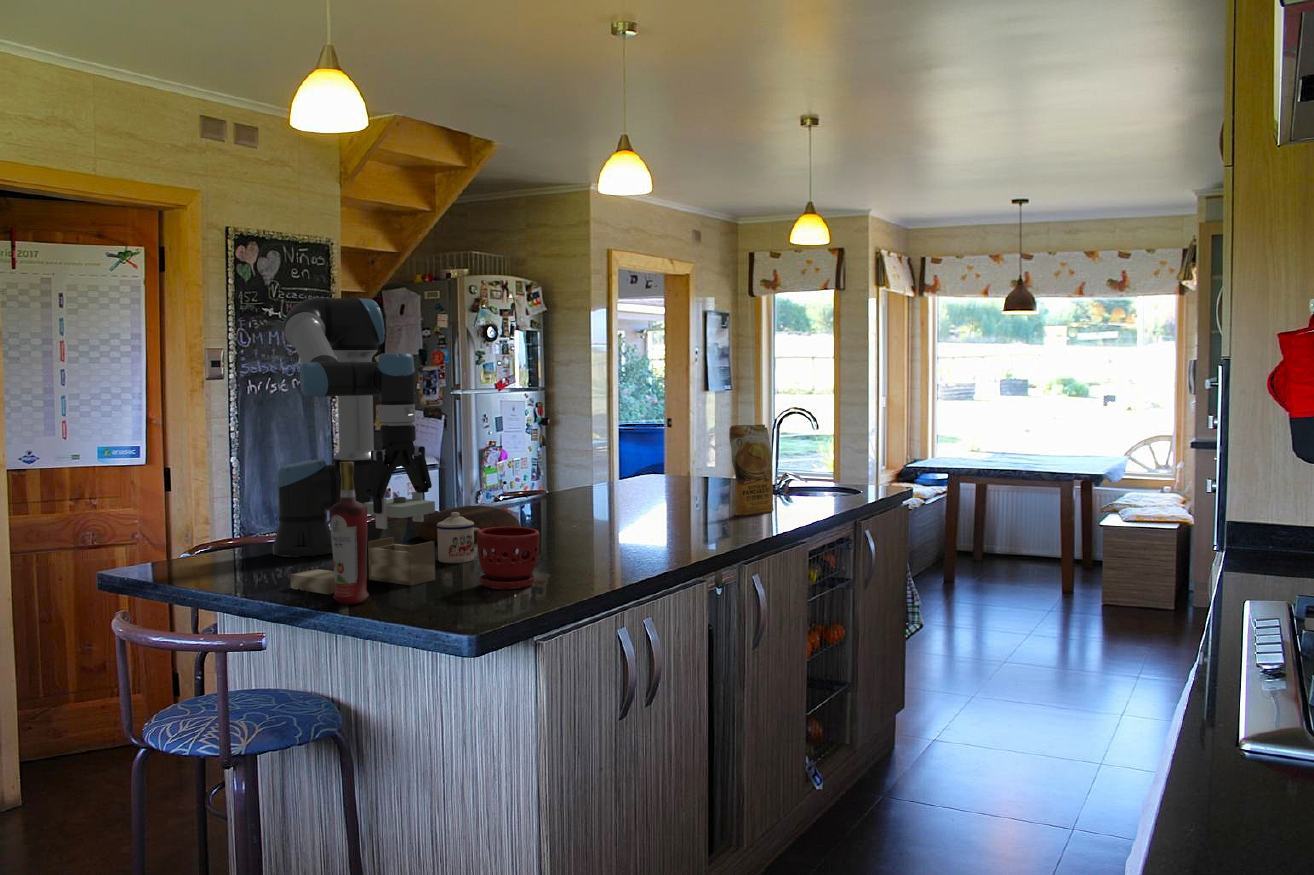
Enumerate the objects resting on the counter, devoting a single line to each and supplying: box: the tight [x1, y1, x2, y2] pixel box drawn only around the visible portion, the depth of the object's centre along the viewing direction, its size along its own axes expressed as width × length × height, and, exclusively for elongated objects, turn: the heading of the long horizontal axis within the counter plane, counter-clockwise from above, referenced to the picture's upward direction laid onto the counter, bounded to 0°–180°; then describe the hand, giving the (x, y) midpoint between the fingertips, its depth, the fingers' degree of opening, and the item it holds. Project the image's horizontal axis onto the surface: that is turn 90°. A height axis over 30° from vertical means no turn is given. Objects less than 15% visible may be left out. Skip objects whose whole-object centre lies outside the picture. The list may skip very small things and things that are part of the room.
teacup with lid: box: [436, 512, 480, 564], centre depth 254 cm, size 12×9×12 cm
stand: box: [289, 568, 335, 595], centre depth 222 cm, size 12×7×3 cm, turn 57°
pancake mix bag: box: [728, 423, 774, 516], centre depth 329 cm, size 7×19×28 cm, turn 128°
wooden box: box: [367, 536, 436, 586], centre depth 230 cm, size 13×7×8 cm, turn 57°
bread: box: [416, 505, 521, 545], centre depth 290 cm, size 28×27×9 cm
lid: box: [364, 496, 436, 519], centre depth 230 cm, size 11×10×3 cm
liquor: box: [328, 462, 370, 606], centre depth 207 cm, size 7×7×28 cm
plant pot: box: [477, 526, 541, 590], centre depth 222 cm, size 13×13×12 cm
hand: (400, 524), depth 230 cm, fingers closed on lid, 10 cm apart
